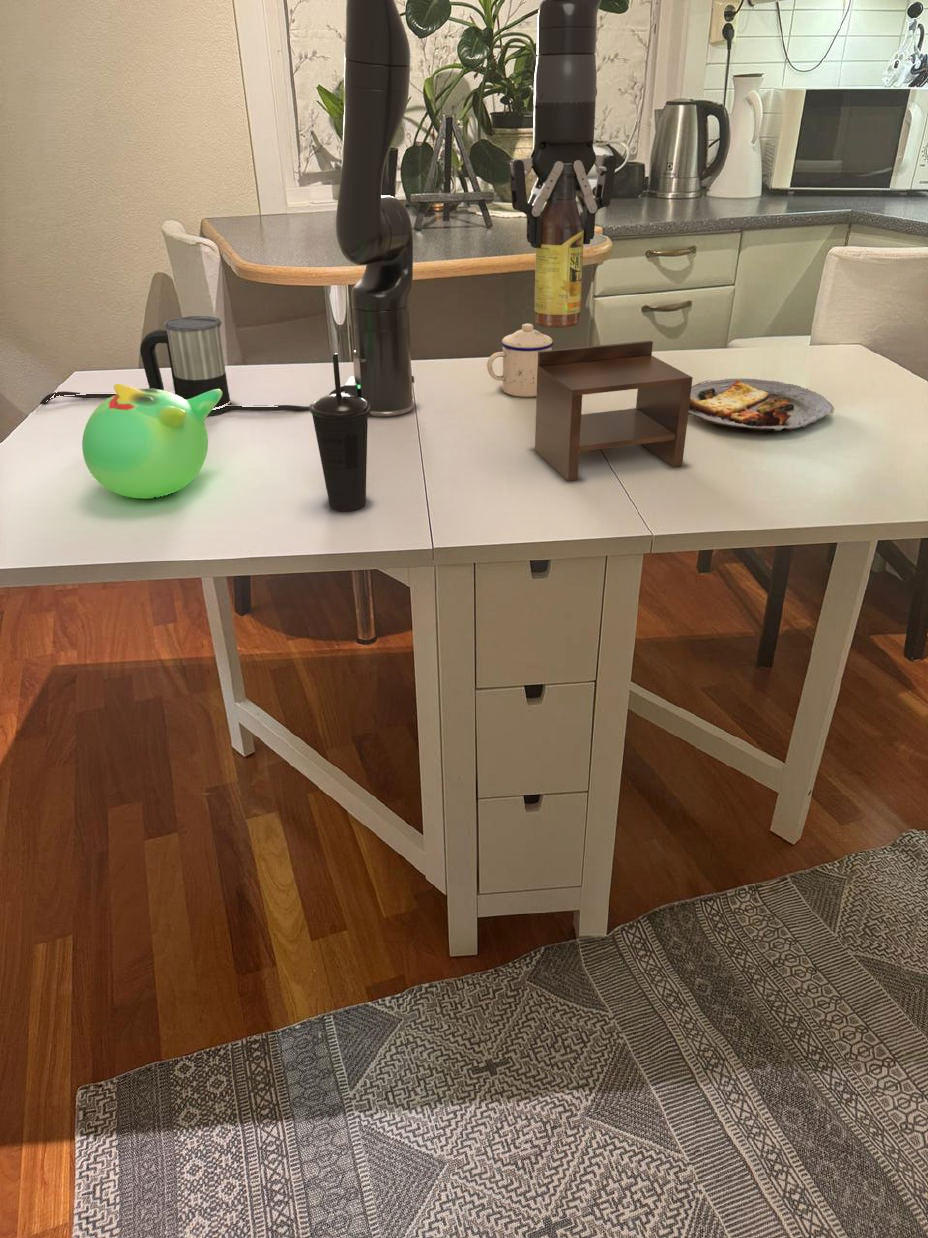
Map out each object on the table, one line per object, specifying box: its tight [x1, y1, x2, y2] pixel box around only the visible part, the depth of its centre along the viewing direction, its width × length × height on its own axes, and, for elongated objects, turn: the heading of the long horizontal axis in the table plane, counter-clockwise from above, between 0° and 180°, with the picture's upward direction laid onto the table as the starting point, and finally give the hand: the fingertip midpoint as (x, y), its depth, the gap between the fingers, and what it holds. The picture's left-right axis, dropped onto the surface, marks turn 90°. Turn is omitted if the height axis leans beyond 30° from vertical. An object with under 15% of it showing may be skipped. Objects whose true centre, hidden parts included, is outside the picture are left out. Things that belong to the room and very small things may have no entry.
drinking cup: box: [308, 353, 370, 513], centre depth 117 cm, size 8×8×20 cm
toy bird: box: [81, 383, 222, 499], centre depth 123 cm, size 18×17×15 cm
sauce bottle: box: [534, 163, 584, 329], centre depth 120 cm, size 6×6×20 cm
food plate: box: [688, 378, 835, 432], centre depth 151 cm, size 25×23×4 cm
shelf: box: [534, 340, 694, 482], centre depth 132 cm, size 18×13×15 cm
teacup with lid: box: [486, 323, 554, 398], centre depth 162 cm, size 12×9×12 cm
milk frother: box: [139, 315, 233, 417], centre depth 151 cm, size 14×16×15 cm
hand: (560, 244), depth 120 cm, fingers closed on sauce bottle, 6 cm apart
